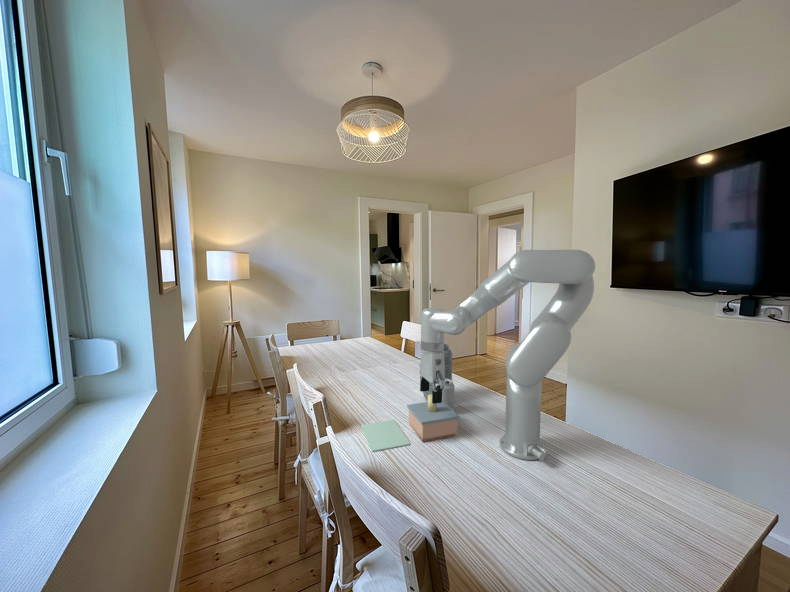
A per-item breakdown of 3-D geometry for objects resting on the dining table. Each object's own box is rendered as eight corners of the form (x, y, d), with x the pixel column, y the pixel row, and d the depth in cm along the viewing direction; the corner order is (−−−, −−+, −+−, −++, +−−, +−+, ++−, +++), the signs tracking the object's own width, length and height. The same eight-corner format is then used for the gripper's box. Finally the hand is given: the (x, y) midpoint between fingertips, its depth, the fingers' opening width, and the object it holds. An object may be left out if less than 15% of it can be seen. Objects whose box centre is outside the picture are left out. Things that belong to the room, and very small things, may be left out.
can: (454, 417, 111) (454, 384, 111) (433, 415, 113) (433, 383, 112) (454, 408, 119) (454, 377, 118) (434, 406, 120) (435, 376, 119)
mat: (410, 444, 94) (410, 443, 94) (372, 452, 90) (372, 450, 90) (394, 420, 109) (394, 419, 109) (361, 426, 105) (361, 424, 105)
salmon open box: (457, 436, 99) (457, 418, 98) (422, 442, 95) (422, 423, 94) (440, 419, 110) (440, 402, 109) (409, 424, 106) (409, 407, 106)
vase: (450, 395, 131) (451, 342, 129) (452, 407, 120) (453, 349, 118) (423, 394, 132) (423, 341, 131) (423, 405, 121) (423, 348, 119)
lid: (459, 418, 98) (459, 400, 97) (421, 424, 94) (421, 406, 93) (441, 402, 110) (441, 386, 110) (407, 407, 106) (407, 390, 106)
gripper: (455, 352, 93) (453, 406, 95) (431, 339, 110) (430, 385, 111) (432, 353, 91) (431, 409, 92) (411, 340, 107) (410, 388, 109)
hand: (430, 396), depth 102 cm, fingers open, 9 cm apart
